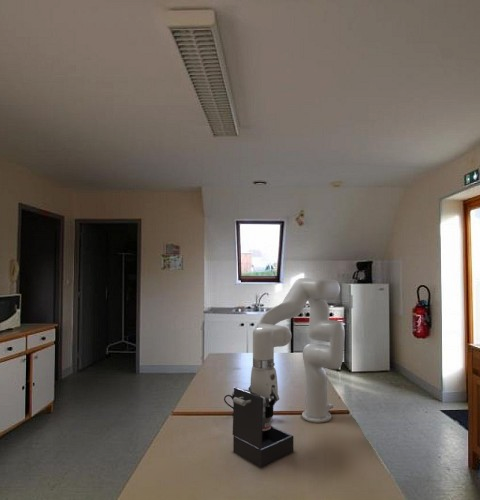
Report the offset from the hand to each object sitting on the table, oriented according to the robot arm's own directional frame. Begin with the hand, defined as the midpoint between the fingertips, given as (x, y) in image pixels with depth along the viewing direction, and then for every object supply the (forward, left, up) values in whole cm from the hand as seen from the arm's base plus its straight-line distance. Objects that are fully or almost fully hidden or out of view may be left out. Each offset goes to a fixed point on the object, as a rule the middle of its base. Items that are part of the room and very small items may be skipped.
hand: (263, 414), depth 135 cm
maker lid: (+7, 0, +1) cm, 7 cm away
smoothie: (-20, -19, -14) cm, 31 cm away
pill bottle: (0, 0, -5) cm, 5 cm away
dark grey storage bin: (0, 0, -13) cm, 13 cm away
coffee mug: (-15, -32, -14) cm, 38 cm away
